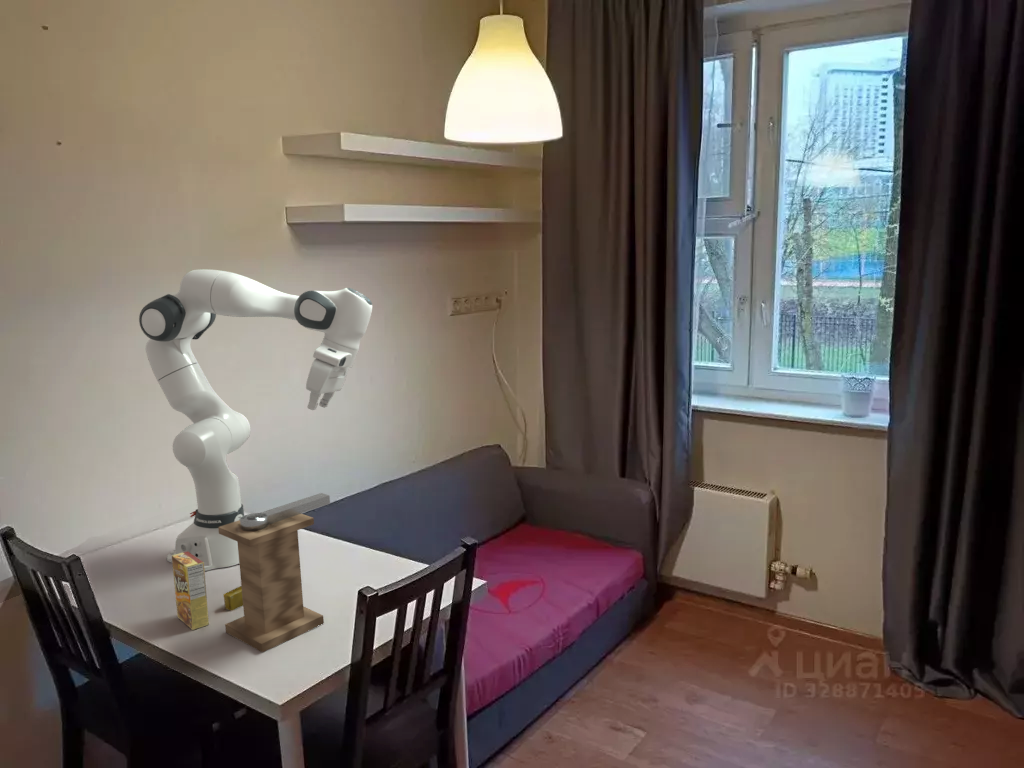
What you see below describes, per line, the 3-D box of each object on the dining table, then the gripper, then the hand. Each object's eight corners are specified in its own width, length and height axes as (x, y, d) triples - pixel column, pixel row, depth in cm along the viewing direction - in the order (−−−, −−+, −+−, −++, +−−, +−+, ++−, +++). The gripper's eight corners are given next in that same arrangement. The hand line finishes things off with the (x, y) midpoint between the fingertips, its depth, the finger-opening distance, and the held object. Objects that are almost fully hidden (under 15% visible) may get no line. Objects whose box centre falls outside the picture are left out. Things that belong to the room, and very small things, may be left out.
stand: (286, 606, 197) (278, 505, 192) (323, 623, 189) (316, 518, 184) (226, 632, 185) (215, 526, 180) (262, 652, 177) (252, 541, 172)
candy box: (176, 617, 193) (169, 555, 190) (194, 611, 196) (188, 550, 193) (192, 631, 186) (185, 566, 183) (210, 624, 189) (204, 561, 186)
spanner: (318, 499, 196) (317, 491, 195) (333, 504, 192) (332, 496, 192) (235, 527, 179) (234, 518, 179) (250, 533, 176) (249, 523, 175)
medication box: (264, 589, 207) (263, 574, 206) (272, 592, 205) (271, 577, 205) (224, 609, 197) (222, 593, 196) (231, 611, 196) (229, 595, 195)
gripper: (336, 350, 213) (317, 400, 214) (312, 350, 193) (291, 405, 193) (359, 359, 213) (340, 409, 213) (337, 360, 192) (316, 415, 193)
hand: (317, 408), depth 203 cm, fingers open, 8 cm apart
